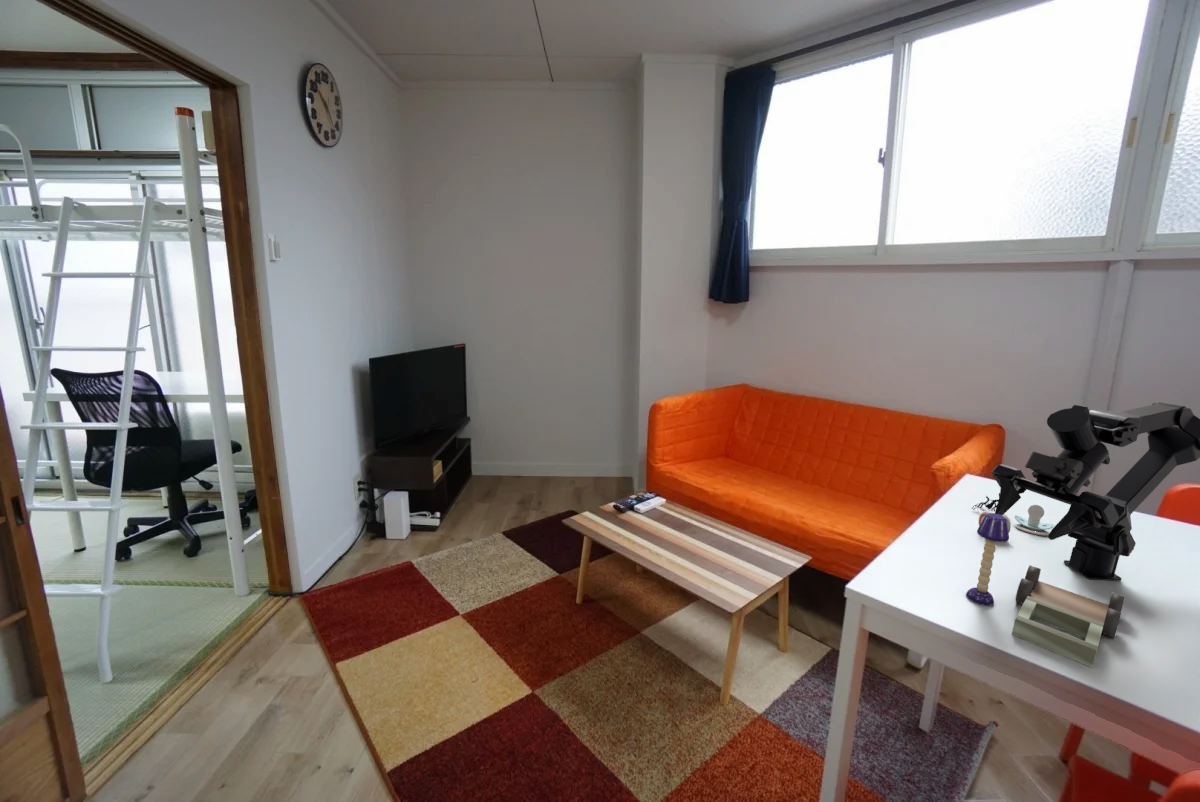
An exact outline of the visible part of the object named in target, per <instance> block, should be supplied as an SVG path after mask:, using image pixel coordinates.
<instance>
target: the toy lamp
mask: <svg viewBox="0 0 1200 802" xmlns="http://www.w3.org/2000/svg"><path fill="white" fill-rule="evenodd" d="M976 533H977V535H978V536H980V537H982V538H984V539H985V541H984V542H985V544H984V546H983V552H982V555H981V556H982V559H981V560H980V567H979V572H978V573H979V575H978V577H977V580H978V581H977V584H976V587H972V588H969V589H968V590H967V592H966V593H965V596H966V598H967V599H968V600H969V601H970V602H973V603H975V604H978V605H982V606H989V607H990V606H993V605H994V603H995V599H994V596H993V595H992V593H990V591H989V584H990V582H991V581H990V576H991V575H992V570H991V569H992V568H993V561H994V558H995V552H996V546H997V544H998V542H999V543H1006V542H1008V541H1009V540H1010V532H1008V525H1007V519H1006V518H1005V517H1004V516H1002V515H999V514H995V513H988V514H986V516H985V517H984V519H983V521H982V522H981V524H980V526H979V525H978V528H977V530H976Z"/></svg>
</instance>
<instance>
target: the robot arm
mask: <svg viewBox="0 0 1200 802" xmlns="http://www.w3.org/2000/svg"><path fill="white" fill-rule="evenodd" d="M1046 424H1047V426H1048V429H1049V430H1050V432H1051V434H1052V436H1053V438H1054V440H1055V442H1056V443H1057V446H1059V447H1060V448H1061V449H1062V450H1061V451H1060V452H1059V454H1058V455H1057V456H1053V455H1047V454H1043V453H1041V452H1037V451H1032V452H1031V454H1030V456H1029V458H1028V460H1027V462H1026V463H1025V465H1024V467H1025V468H1026V469H1030V470H1032V471H1033V472H1032V473H1031V476H1032V477H1033V478H1034V479H1036V481H1034V480H1032V479H1031V480H1030V479H1028V478H1026V476H1025V475H1024V473H1023V471H1022V470H1021V469H1019V468H1016V467H1013V466H1010V465H1007V464H1003V463H1002V464H998V465H996V466H995V467H994V468H993V469H992V470H991V472H990V473H991V474H992V476H993V477H994V480H995V482H996V483H997V485H998V486H999V488H1000V490H999V493H1000V496H999V495H998V499H997V500H998V502H997V503H996V505H997V507H996V508H995V514H999V515H1003V514H1006V513H1007V512H1008V511H1009V510H1010V509H1011V508H1012V507H1013V506H1014V505H1015V504H1017V502H1018V501H1019V500H1021V498H1022V497H1021V495H1020V494H1024V493H1025V492H1026V491H1030V492H1033V493H1036V494H1039V495H1042V496H1044V497H1047V498H1050V499H1053V500H1055V501H1058V502H1062V503H1064V504H1067V505H1070V506H1069V508H1068V511H1067V513H1066V514H1065V515H1064V516H1063V517H1062V518H1061V519H1060V520H1059V521H1058V522H1057V523H1056V524H1055V525H1054V526H1053V527H1052V528H1051V529H1050V532H1048V533H1049V535H1047V538H1048V539H1049V540H1051V541H1052V540H1056V539H1058V538H1061V537H1064V536H1066V535H1067V536H1068V537H1069V538H1073V539H1076V541H1075V544H1074V547H1072V549H1071V553H1070V559H1069V560H1068V559H1067V560H1065V559H1064V560H1063V564H1064V565H1066V566H1068V567H1070V568H1071V569H1073V570H1075V571H1076V572H1077V573H1079V574H1080V575H1082V576H1083V577H1085V578H1087V579H1089V580H1102V581H1103V580H1105V581H1119V582H1121V581H1122V577H1121V576H1119V575H1117V574H1116V570H1117V567H1118V563H1119V559H1120V556H1122V557H1130V555H1131V553H1132V552H1133V551H1134V548H1135V547H1136V545H1137V544H1136V541H1135V540H1134V537H1133V535H1132V533H1131V531H1132V529H1133V527H1132V519H1131V515H1132V514H1133V512H1135V510H1136V509H1137V508H1138V507H1140V505H1141V504H1142V503H1143V502H1144V501H1145V500H1146V499H1148V497H1149V496H1150V495H1151V494H1152V492H1153V491H1154V490H1155V489H1156V488H1157V487H1158V486H1159V485H1160V484H1161V483H1162V482H1163V481H1164V479H1166V478H1167V476H1169V475H1170V473H1171V472H1172V471H1173V470H1174V469H1175V468H1176V467H1177V466H1181V465H1185V464H1189V463H1193V462H1196V461H1197V460H1199V459H1200V418H1199V417H1198V416H1196V415H1195V414H1194V413H1193V410H1192V409H1191V408H1189V407H1187V406H1186V405H1180V404H1174V403H1168V402H1163V401H1160V402H1154V403H1152V404H1150V405H1146V406H1142V407H1138V408H1137V407H1136V408H1131V409H1128V410H1123V411H1111V410H1103V409H1091V410H1090V409H1089V407H1088V406H1087V405H1086V406H1085V405H1080V404H1074V405H1073V406H1072V407H1071V408H1064V409H1060V410H1057V411H1054V412H1053V413H1051V414H1050V415H1049V416H1048V417H1047V419H1046ZM1144 433H1147V442H1148V443H1147V444H1148V450H1147V451H1146V452H1145V453H1144V454H1143V455H1142V456H1141V457H1140V458H1139V459H1138V460H1137V461H1136V462H1135V463H1134V464H1133V465H1132V467H1130V469H1128V470H1127V472H1126V473H1125V474H1124V475H1123V476H1122V477H1121V478H1120V479H1119V480H1118V481H1117V482H1116V483H1115V484H1114V485H1113V487H1111V489H1110V490H1109V491H1108V492H1106V494H1105V495H1099V494H1097V493H1094V492H1090V491H1088V490H1087V491H1086V490H1085V491H1082V492H1081V493H1080V494H1079V495H1078V494H1077V493H1078V492H1079V491H1080V489H1081V488H1082V487H1083V486H1084V487H1087V488H1088V487H1089V485H1091V480H1090V478H1091V477H1092V476H1093V474H1094V473H1095V472H1096V471H1097V470H1098V468H1100V466H1101V465H1102V464H1103V465H1110V462H1111V458H1110V457H1111V456H1110V452H1109V449H1108V448H1107V446H1106V445H1105V444H1107V445H1110V446H1114V447H1118V448H1124V447H1126V446H1128V445H1130V444H1133V443H1135V442H1136V441H1138V440H1137V439H1138V437H1139V435H1142V434H1144ZM1076 494H1077V495H1076Z"/></svg>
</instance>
